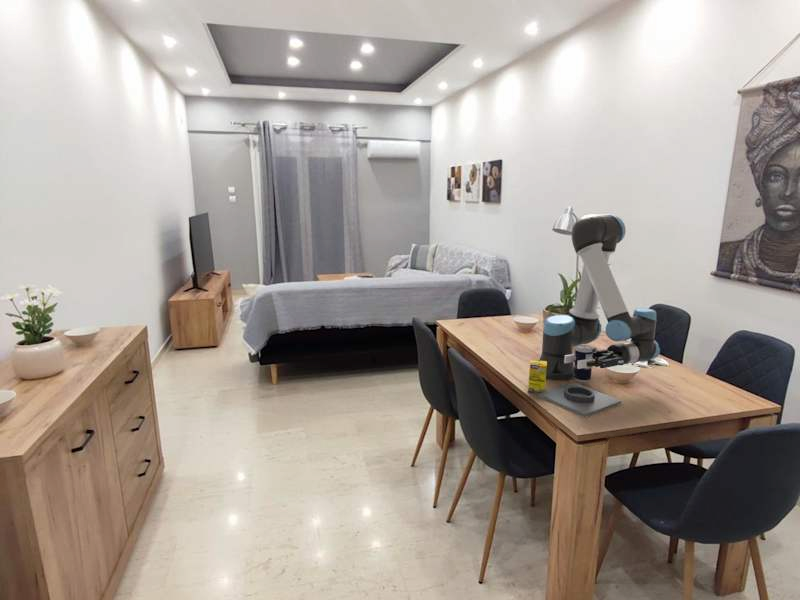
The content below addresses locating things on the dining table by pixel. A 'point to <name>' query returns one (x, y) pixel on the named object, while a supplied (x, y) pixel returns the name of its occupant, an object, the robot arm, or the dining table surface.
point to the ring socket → (580, 399)
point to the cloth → (655, 361)
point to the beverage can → (582, 354)
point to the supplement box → (537, 376)
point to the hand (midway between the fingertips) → (571, 362)
